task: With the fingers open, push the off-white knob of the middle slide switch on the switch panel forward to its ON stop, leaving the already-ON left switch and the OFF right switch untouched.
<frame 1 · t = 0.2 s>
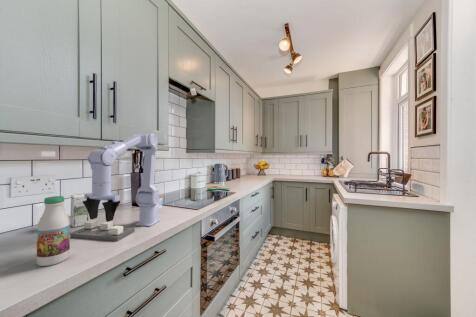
hand: (101, 219, 72), 10 cm above the countertop, fingers open, 7 cm apart
switch c: (90, 224, 87), point 3 cm above the countertop, slide at 0.0 cm
switch panel: (102, 234, 84), on the countertop
switch b: (106, 225, 86), point 3 cm above the countertop, slide at 0.0 cm
switch a: (116, 230, 81), point 3 cm above the countertop, slide at 4.0 cm
milk bottle: (54, 260, 63), on the countertop
syrup box: (79, 225, 95), on the countertop
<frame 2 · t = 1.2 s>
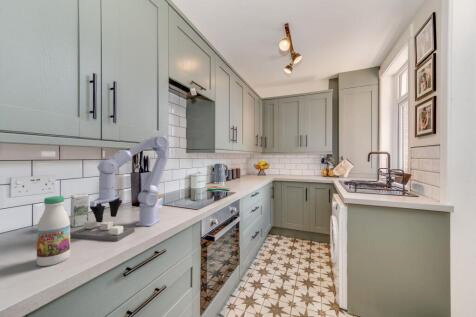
hand: (106, 219, 86), 6 cm above the countertop, fingers open, 7 cm apart
nothing on the countertop moved.
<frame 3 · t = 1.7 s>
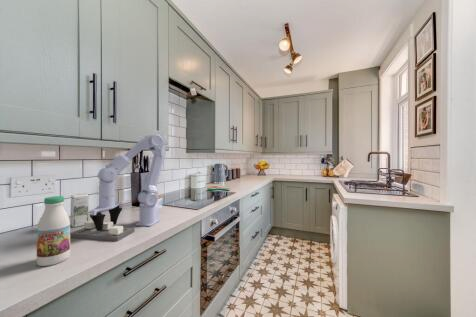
hand: (106, 227, 86), 2 cm above the countertop, fingers open, 7 cm apart
nothing on the countertop moved.
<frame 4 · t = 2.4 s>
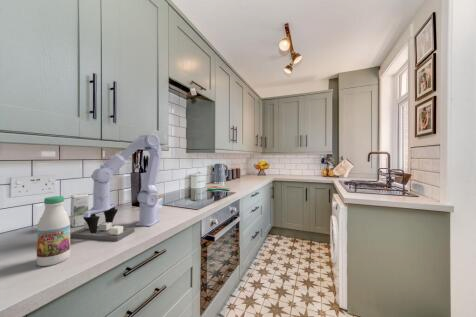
hand: (101, 229, 83), 2 cm above the countertop, fingers open, 7 cm apart
switch b: (105, 226, 85), point 3 cm above the countertop, slide at 0.7 cm, touching gripper
everything else where it was.
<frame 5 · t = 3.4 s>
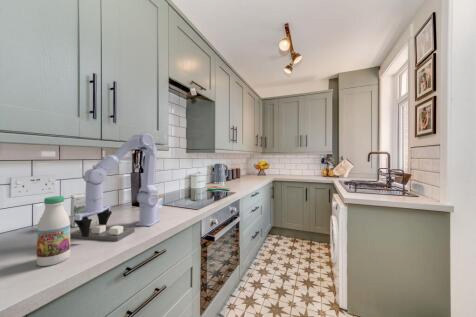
hand: (94, 232, 79), 2 cm above the countertop, fingers open, 7 cm apart
switch b: (98, 228, 82), point 3 cm above the countertop, slide at 4.1 cm, touching gripper
everything else where it was.
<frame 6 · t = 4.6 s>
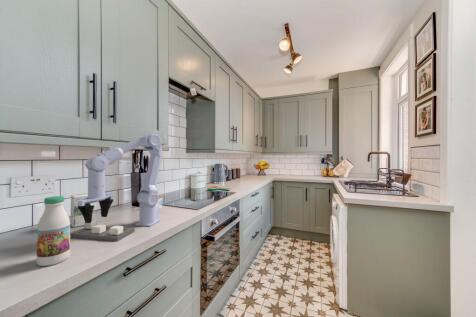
hand: (96, 219, 80), 7 cm above the countertop, fingers open, 7 cm apart
switch b: (98, 228, 82), point 3 cm above the countertop, slide at 4.1 cm
everything else where it was.
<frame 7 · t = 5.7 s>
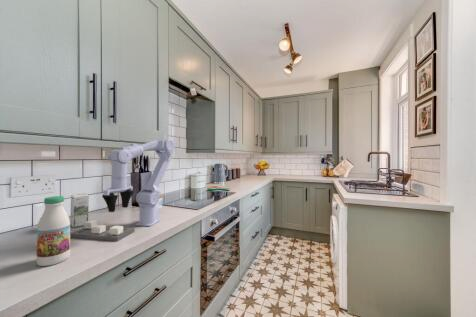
hand: (118, 209, 84), 10 cm above the countertop, fingers open, 7 cm apart
nothing on the countertop moved.
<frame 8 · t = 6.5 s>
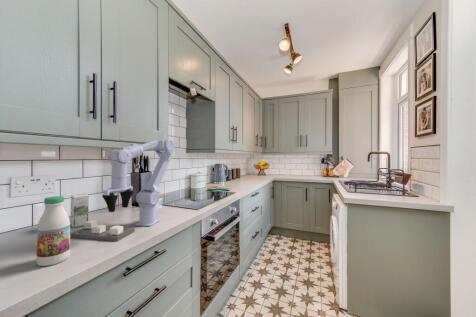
hand: (118, 209, 84), 10 cm above the countertop, fingers open, 7 cm apart
nothing on the countertop moved.
at the end: switch b slide at 4.1 cm; switch a slide at 4.0 cm; switch c slide at 0.0 cm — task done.
